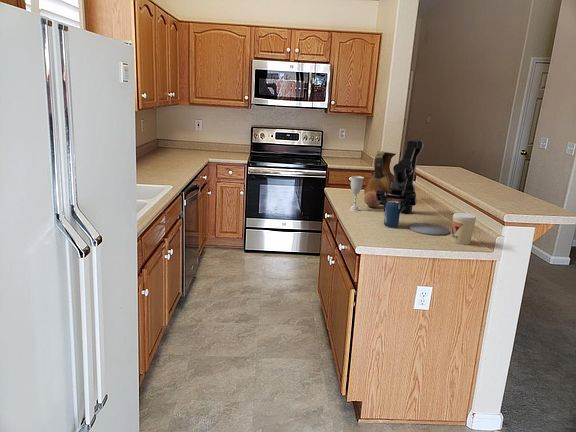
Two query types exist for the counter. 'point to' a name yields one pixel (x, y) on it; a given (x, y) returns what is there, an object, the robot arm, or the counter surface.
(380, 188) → the ceramic pitcher
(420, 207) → the counter surface
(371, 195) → the onion
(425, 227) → the rubber mat
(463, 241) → the coffee cup
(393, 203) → the soda can
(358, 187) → the chalice
